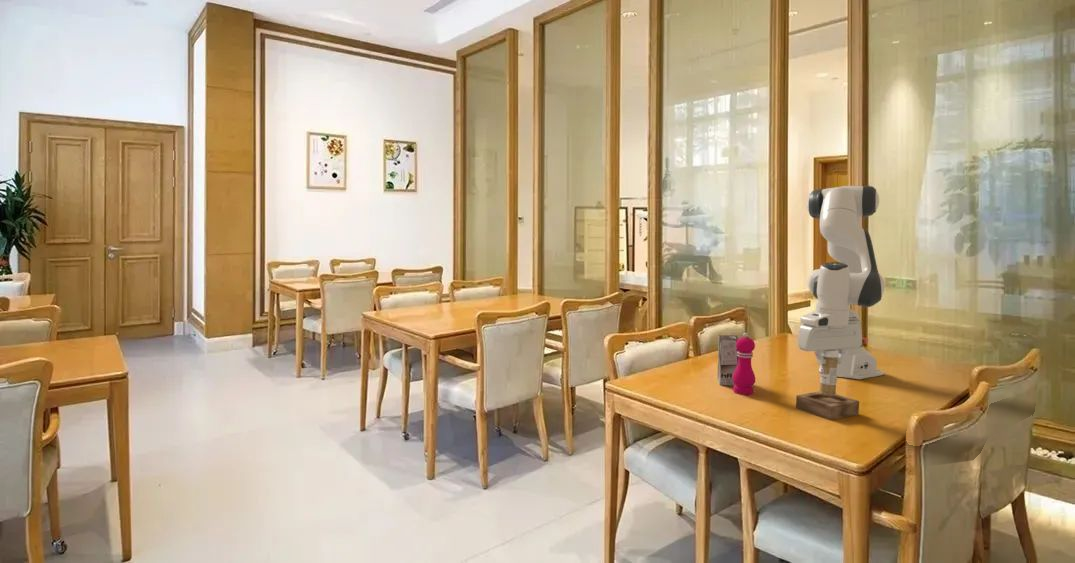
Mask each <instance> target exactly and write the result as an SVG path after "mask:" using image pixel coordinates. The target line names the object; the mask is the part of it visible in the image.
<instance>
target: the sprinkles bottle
mask: <svg viewBox="0 0 1075 563" xmlns="http://www.w3.org/2000/svg"><path fill="white" fill-rule="evenodd" d="M822 356H823V359H826V364H825V365H821V372H820V378H819V381H820V382H819V383H820V384H819V385H820V386H819V391H818V392H820V394H822V395H826V396H834V395H836V394H837V392H836V391H837V382H838V381H837V379H838V378H837V359H838V350H824V352H823V354H822Z"/></svg>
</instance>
